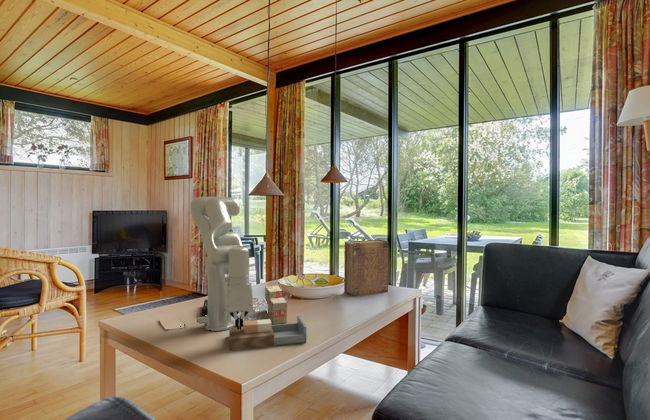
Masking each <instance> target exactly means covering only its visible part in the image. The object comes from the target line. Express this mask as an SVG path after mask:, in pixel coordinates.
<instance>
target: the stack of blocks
mask: <svg viewBox="0 0 650 420" xmlns="http://www.w3.org/2000/svg"><path fill="white" fill-rule="evenodd" d="M264 291H265V292H264V298H265V299H266V301H267V304H268V315H267V316H268V319H270V320H271V324H272V325H278V324H288V323H287V316H288V315H287V313H288V312H287V311H288V310H287V309H288V302H287V301H286V299H285V298H284V297H283V296H284V294H283V290H282V288H281V287H279V285H277V284H276V285H265V286H264Z"/></svg>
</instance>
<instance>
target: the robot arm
mask: <svg viewBox="0 0 650 420" xmlns="http://www.w3.org/2000/svg"><path fill="white" fill-rule="evenodd" d="M189 207H190V214H191V217H192V220H193V223H195V226H196V227H197V228H198V231H199V234H200V237H201V241H202V244H203V248H204V250H205V252H206V257H205V260H204V266H205V272H206V278H207V282H206V283H207V299H208V315H207V316H204V317H197V318H196V323H197V324H199V325H200V324H203V328H204V330H207V331H209V330H211V332H220V331H221V332H222V331H227V330H229V326H235V327H237V330H241V327H243V325H244V318H245V317H246V316H247V315H248V314H252V313H253V312H254V296H253V286H252V283H251V282H250V252H249V248H248V247H245V246H244V245H243V242H242V239H241V237H240V235H239V234H238V233H237V232H235V231H231V230H232V228H233V222H232V219H231V217H237V216H238V215H239V214H240V211H241V208H240V203H239V201H238V199H236V198H235V197H228V196H198V197H195V198H193V199H192V200H191V202H190V206H189ZM226 275H228V276H227V277H226ZM237 312H239V313H240V314H239V315H238V314H237ZM232 318H233V319H234V320H233V319H232Z"/></svg>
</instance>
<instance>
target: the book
mask: <svg viewBox="0 0 650 420" xmlns="http://www.w3.org/2000/svg"><path fill="white" fill-rule="evenodd" d="M389 248H390V247H389V241H387V240H381V239H372V240H359V241H358V240H355V241H344V269H343V270H344V275H343V276H344V278H343V281H344V282H343V283H344V284H343V285H344V288H343V289H344V291H343V292H344V294H349V295H351V296H353V297H358V296H364V295H365V296H366V295H372V294H379V293H385V292H389Z"/></svg>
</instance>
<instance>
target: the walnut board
mask: <svg viewBox="0 0 650 420" xmlns="http://www.w3.org/2000/svg"><path fill="white" fill-rule="evenodd" d="M228 331H229V333H228V336H229V338H228V339H229V340H228V343H229V347H228V348H229V350H228V351H236V350H237V351H239V350H246V349H247V350H248V349H256V348H267V347H275V344H274V332H273V330H272V327H271V331H266V332H256V333H244V324H243V327H241V330H237V327H235V325H234V326H229V329H228Z"/></svg>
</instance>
